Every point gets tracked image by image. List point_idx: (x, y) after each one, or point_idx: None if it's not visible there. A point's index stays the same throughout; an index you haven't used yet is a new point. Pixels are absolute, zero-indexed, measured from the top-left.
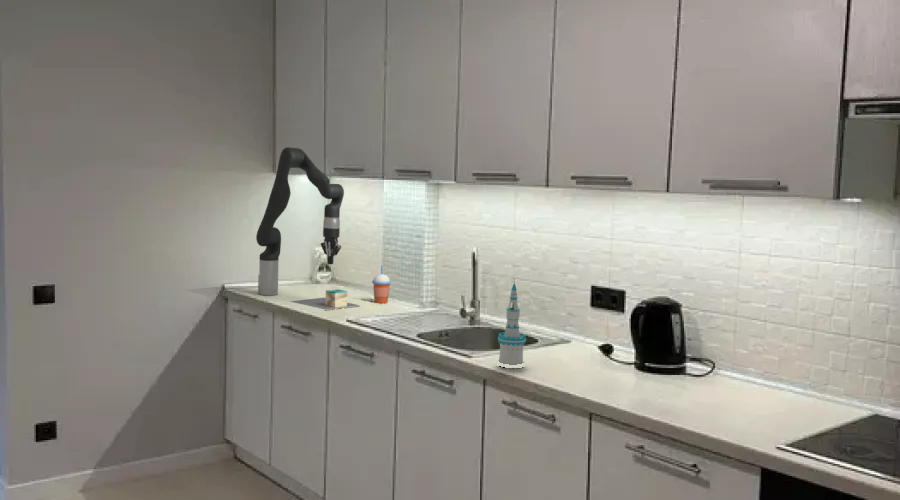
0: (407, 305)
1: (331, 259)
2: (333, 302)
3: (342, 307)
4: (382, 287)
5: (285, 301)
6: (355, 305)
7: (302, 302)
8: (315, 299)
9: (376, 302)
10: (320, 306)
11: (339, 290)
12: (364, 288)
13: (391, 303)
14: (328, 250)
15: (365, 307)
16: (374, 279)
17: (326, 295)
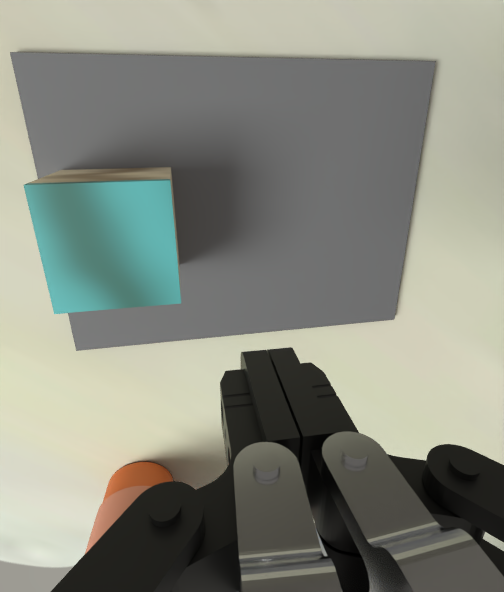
0: (7, 542)
1: (226, 424)
2: (71, 172)
3: None
4: None
5: (477, 69)
6: (81, 327)
7: (349, 106)
8: (379, 248)
9: (135, 463)
10: (150, 108)
11: (114, 279)
12: None
13: (96, 509)
14: (329, 568)
15: (36, 358)
16: None
17: (158, 175)
